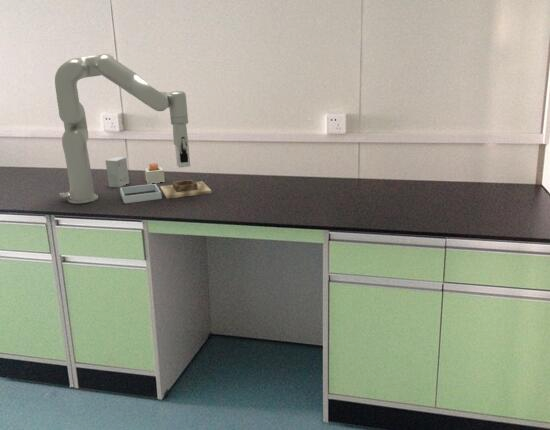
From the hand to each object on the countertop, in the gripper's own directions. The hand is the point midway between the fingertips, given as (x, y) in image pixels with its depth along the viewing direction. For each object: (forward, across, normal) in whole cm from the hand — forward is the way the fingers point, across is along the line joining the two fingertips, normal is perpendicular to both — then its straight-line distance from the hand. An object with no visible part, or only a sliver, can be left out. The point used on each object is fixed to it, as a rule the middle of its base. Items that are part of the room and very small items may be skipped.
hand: (183, 160), depth 246 cm
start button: (+8, -24, -10) cm, 27 cm away
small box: (+14, -25, -27) cm, 40 cm away
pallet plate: (+14, 0, 0) cm, 14 cm away
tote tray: (+14, 0, -20) cm, 25 cm away
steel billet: (+2, 0, 0) cm, 2 cm away
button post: (+14, -24, -10) cm, 30 cm away
